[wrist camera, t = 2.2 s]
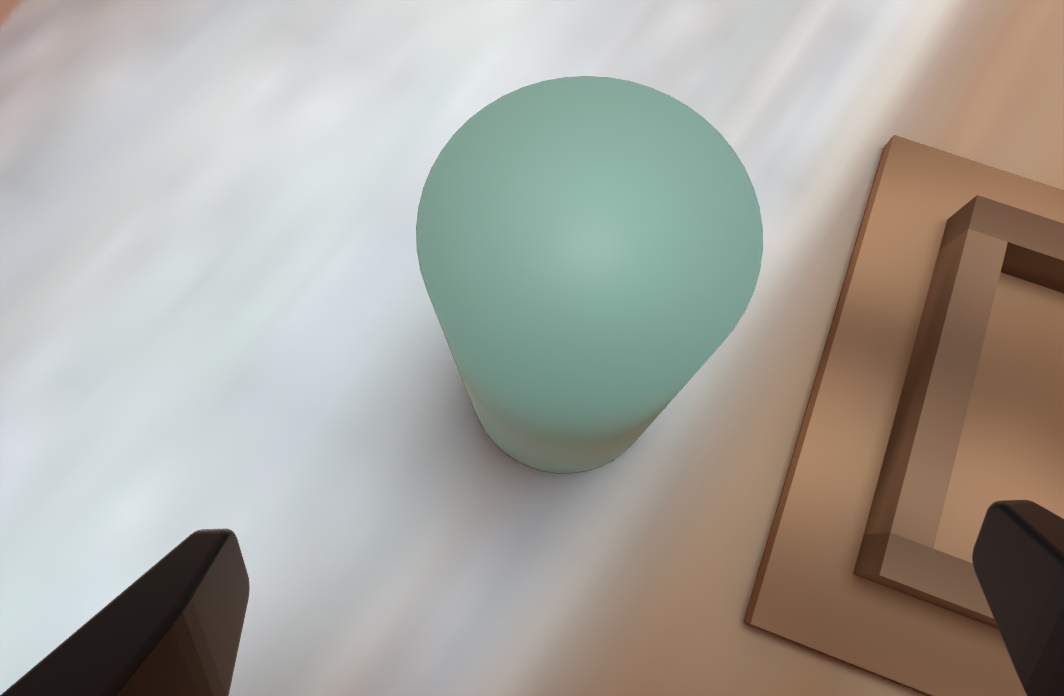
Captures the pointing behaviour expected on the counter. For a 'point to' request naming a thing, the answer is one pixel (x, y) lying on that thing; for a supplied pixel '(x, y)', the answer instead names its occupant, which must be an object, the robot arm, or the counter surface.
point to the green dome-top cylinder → (585, 262)
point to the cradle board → (924, 425)
